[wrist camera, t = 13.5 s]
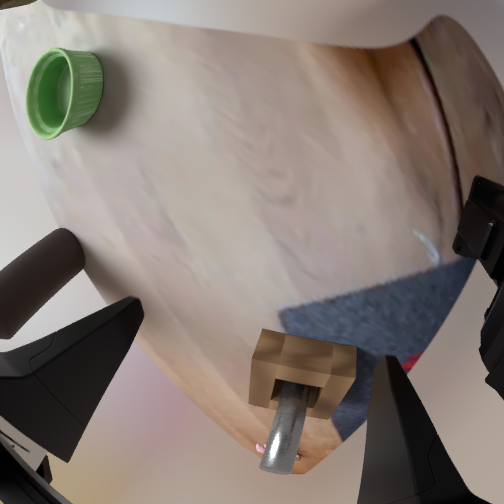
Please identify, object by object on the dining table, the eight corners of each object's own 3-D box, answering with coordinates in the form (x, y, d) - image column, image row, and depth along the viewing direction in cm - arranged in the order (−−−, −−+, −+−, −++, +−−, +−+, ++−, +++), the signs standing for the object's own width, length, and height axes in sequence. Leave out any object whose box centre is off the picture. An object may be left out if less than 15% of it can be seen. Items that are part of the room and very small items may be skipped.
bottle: (68, 220, 28) (-50, 316, 12) (93, 265, 31) (-11, 371, 14) (50, 234, 31) (-48, 316, 15) (72, 273, 34) (-16, 362, 17)
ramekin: (64, 140, 23) (33, 151, 19) (52, 71, 18) (21, 76, 15) (116, 113, 20) (80, 121, 16) (103, 32, 15) (68, 29, 12)
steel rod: (317, 360, 28) (294, 470, 17) (311, 375, 29) (288, 475, 19) (291, 355, 28) (260, 463, 18) (287, 370, 30) (258, 469, 19)
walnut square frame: (356, 346, 25) (355, 378, 22) (331, 393, 31) (328, 419, 27) (262, 328, 27) (251, 358, 24) (257, 378, 33) (248, 403, 29)
